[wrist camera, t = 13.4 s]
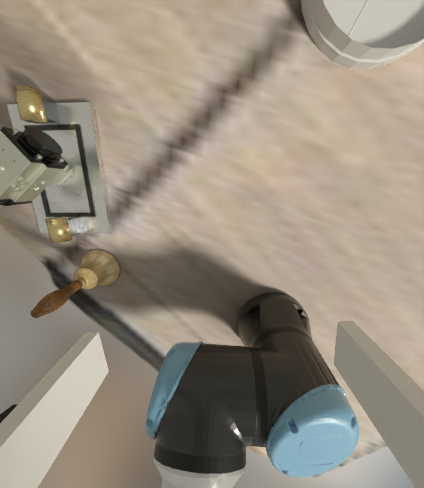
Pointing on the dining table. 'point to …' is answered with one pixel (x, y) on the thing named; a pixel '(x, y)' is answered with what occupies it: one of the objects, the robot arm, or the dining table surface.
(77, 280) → the hand bell
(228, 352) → the robot arm
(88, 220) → the plate
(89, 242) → the dining table surface
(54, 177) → the pneumatic valve
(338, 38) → the dish
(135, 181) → the dining table surface
